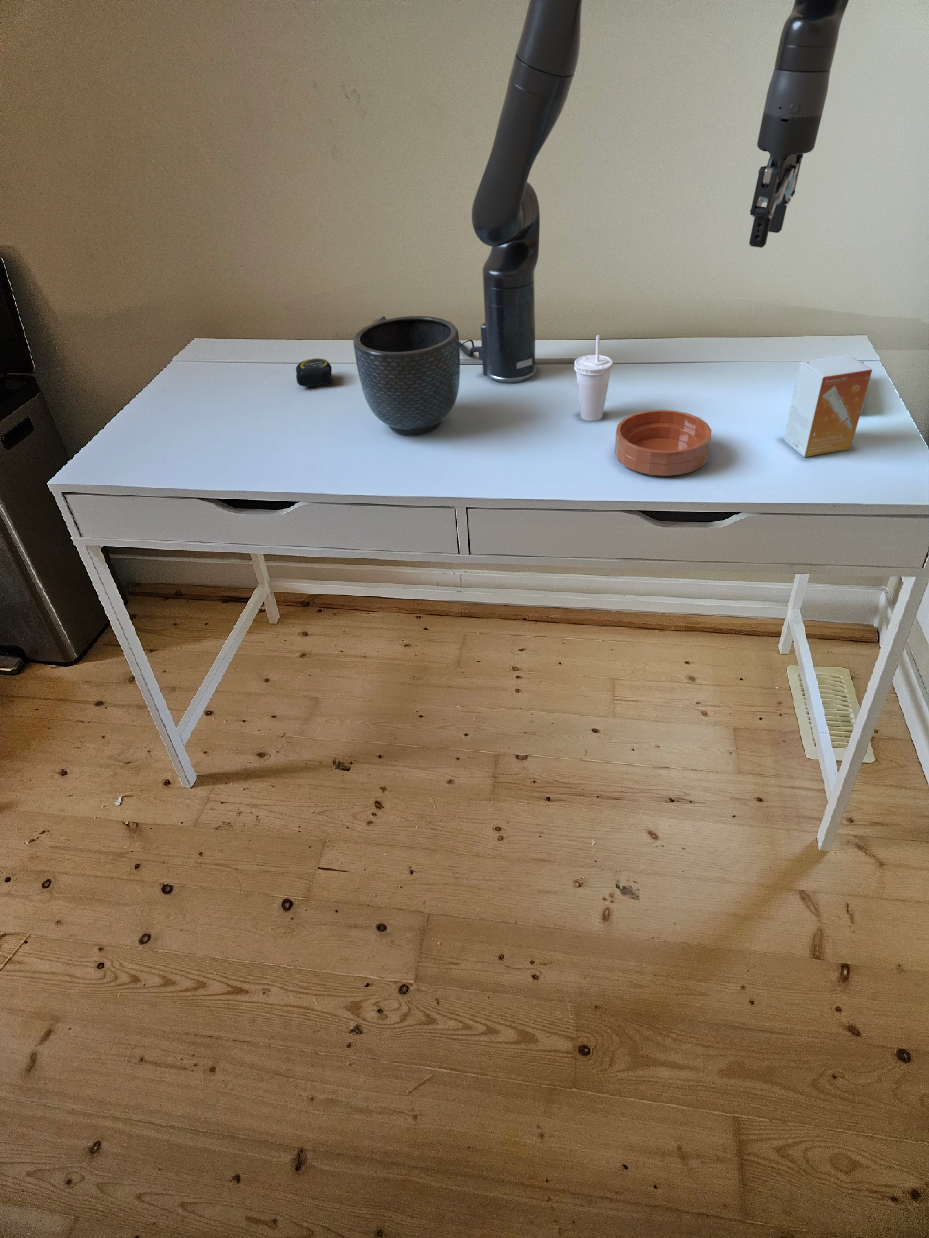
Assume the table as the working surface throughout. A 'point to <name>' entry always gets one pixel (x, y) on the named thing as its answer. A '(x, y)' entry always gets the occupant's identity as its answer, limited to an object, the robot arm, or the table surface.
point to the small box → (826, 404)
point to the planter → (409, 371)
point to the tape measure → (313, 372)
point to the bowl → (662, 442)
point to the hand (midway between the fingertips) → (765, 239)
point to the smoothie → (593, 383)
